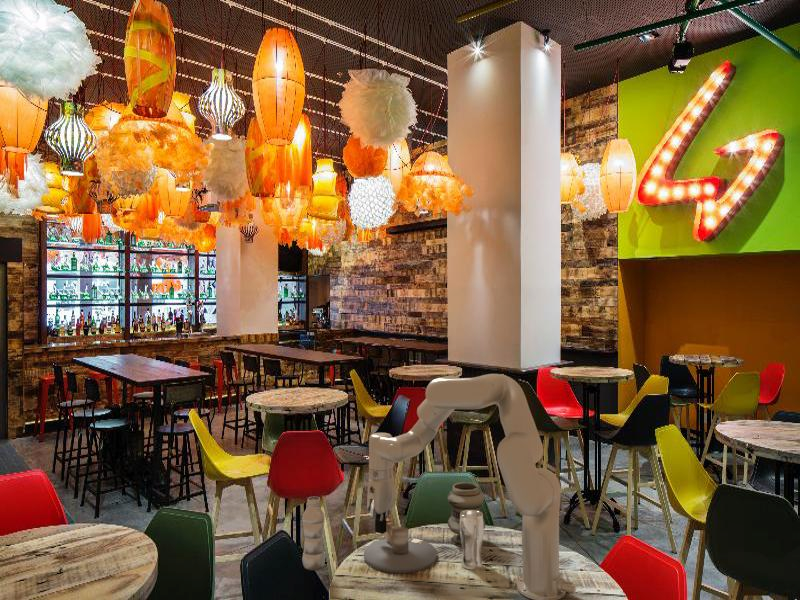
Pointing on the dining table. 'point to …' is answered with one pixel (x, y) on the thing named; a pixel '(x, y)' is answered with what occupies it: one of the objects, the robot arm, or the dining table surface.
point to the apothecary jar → (463, 505)
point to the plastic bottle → (313, 535)
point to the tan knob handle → (397, 537)
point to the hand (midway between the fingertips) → (380, 532)
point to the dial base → (400, 556)
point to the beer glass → (471, 538)
